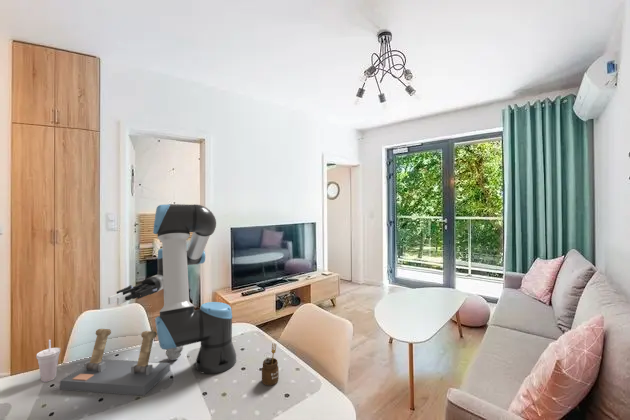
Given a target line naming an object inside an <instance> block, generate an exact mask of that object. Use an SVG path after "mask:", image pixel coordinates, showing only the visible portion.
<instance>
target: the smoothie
mask: <svg viewBox="0 0 630 420" xmlns="http://www.w3.org/2000/svg"><path fill="white" fill-rule="evenodd" d="M51 342H52V340H51V339H48V348H46V349H43V350H40V351H39V352H37V353H36V356H35V357H36V358H35V359H37V362H38V368H39V374H40V379H41V382H42V383H46V382H50V381H52V380H54V379H55V378H56V377H57V376H56V375H57V370H58V365H59V358H60V353H61V347H52V343H51Z"/></svg>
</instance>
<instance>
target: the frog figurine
mask: <svg viewBox="0 0 630 420" xmlns="http://www.w3.org/2000/svg"><path fill="white" fill-rule="evenodd" d="M183 349H184V346H180V347H176V348H171V349H166V350H165V356H166V357H167V358H168V359H169V361H170V360H171V361H176V360H177V359H179V358H180V356H181V353H182V352H183Z"/></svg>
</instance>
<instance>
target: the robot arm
mask: <svg viewBox="0 0 630 420" xmlns="http://www.w3.org/2000/svg"><path fill="white" fill-rule="evenodd" d="M154 215H155V216H154V221H153V227H152V228H153V229H152V230H153V231H152V233H153V234H154V235H157V240H159V241H160V242H161V248H159V249H158V250H157V274H155V275H152V276H150V277H146V278H144V279H143V280H142V282H141V283H139V284H137V285H134V286H133V285H130V284H129V286H126V287H124V288H122V289H119V290H118V291H116V294H113V295H111V296H108V297H107V300H108V301H107V305H111V304H114V303H116V305H117V306H119V305H121V304H123V303H126V302H128V301H130V300H135V299H142V298H144V297H147V296H149V295H150V296H151V295H153V294H156V293H159V291H162V290H163V307H162V308H161V309H160V310H159V315H158V316H156V317H155V319H154V320H155V321H154V322H155V329H156V330H155V332H156V334H157V335H156V337H157V341H158V344H159V347H160V348H161V349H162V350H164V351H167V350H166V349H171V348H176V347H180V346H183V347H184V346H187V345H192V344H196V343H200V346H199V350H198V353H197V356H196V359H195V370H197V372H199V373H202V374H206V375H212V374H214V375H215V374H219V373H222V372H225V371H227V370H229V369H231V368H232V367H234V366H235V364H236V363H237V352H236V350H235V346H234V344H233V337H232V336H233V311H232V309H233V308H232V307H231V305H229V304H228V303H225V302H221V301H220V302H219V301H210V302H209V301H207V302H205V303H202V304H201V305H200V307H199V309H195V305H194V304H193V303H191V302H190V292H189V291H190V287H189V273H188V272H189V270H188V269H189V268H188V266H193V265H201V264H204V263H205V261H206V252H205V248H206V246H207V244H208V241H209V238H210V236H211V235H212V236H213V234H214V232H215V231H216V228H217V219H216V216H215V215H214V213H213V212H212V211H211V210H210V209H209V208H207V207H206V206H204V205H203V204H202V205H201V204H184V203H183V204H181V203H180V204H179V203H177V204H174V203H173V204H172V203H169V204H159V205H157V207H156V209H155V214H154ZM189 238H190V240H189V244H188V247H187V240H188V239H189Z"/></svg>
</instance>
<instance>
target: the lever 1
mask: <svg viewBox="0 0 630 420" xmlns="http://www.w3.org/2000/svg"><path fill="white" fill-rule="evenodd" d="M111 334H112V329H109V328H99V329H96V331H95V335H96V339H95V341H94V346H93V350H92V353H91V357H90V360H89V361H90V362H89V363H88V364H87V369H93V370H98V365H99V364H100V363H102V362H101V361H102V359H103V357H104V353H105V348H106V345H107V341H108V338H109V336H110V335H111Z"/></svg>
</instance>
